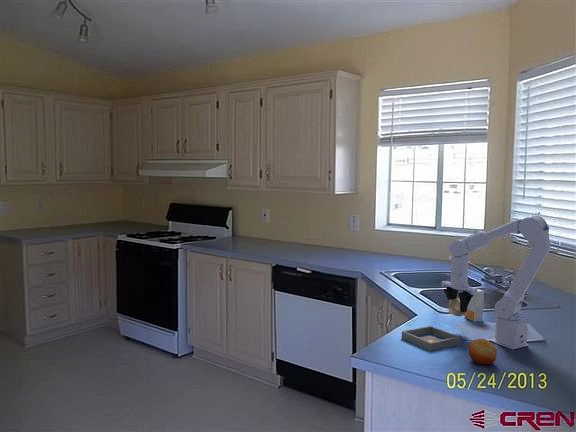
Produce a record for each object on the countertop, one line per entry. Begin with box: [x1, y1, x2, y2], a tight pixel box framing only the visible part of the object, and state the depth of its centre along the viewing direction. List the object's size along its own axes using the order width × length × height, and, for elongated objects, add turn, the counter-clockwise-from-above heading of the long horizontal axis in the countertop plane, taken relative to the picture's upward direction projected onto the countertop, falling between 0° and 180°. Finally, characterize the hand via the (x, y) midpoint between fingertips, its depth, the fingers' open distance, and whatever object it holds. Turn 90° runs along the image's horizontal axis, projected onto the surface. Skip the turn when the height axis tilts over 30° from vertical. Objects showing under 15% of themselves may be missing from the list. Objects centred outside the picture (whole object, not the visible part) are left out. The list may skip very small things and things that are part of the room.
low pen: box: [401, 325, 462, 352], centre depth 165 cm, size 14×14×2 cm
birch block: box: [447, 297, 467, 317], centre depth 174 cm, size 4×4×5 cm
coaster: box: [421, 336, 441, 342], centre depth 165 cm, size 7×7×1 cm
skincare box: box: [463, 287, 485, 323], centre depth 190 cm, size 6×4×12 cm
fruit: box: [467, 338, 498, 366], centre depth 147 cm, size 8×8×8 cm
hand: (457, 310), depth 174 cm, fingers closed on birch block, 4 cm apart
